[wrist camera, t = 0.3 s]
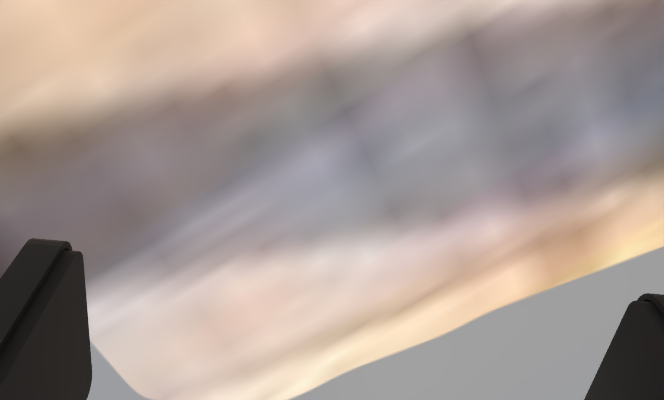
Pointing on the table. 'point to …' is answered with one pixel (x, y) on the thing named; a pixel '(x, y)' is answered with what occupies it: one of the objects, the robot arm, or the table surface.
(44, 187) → the table surface
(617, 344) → the robot arm
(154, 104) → the table surface
